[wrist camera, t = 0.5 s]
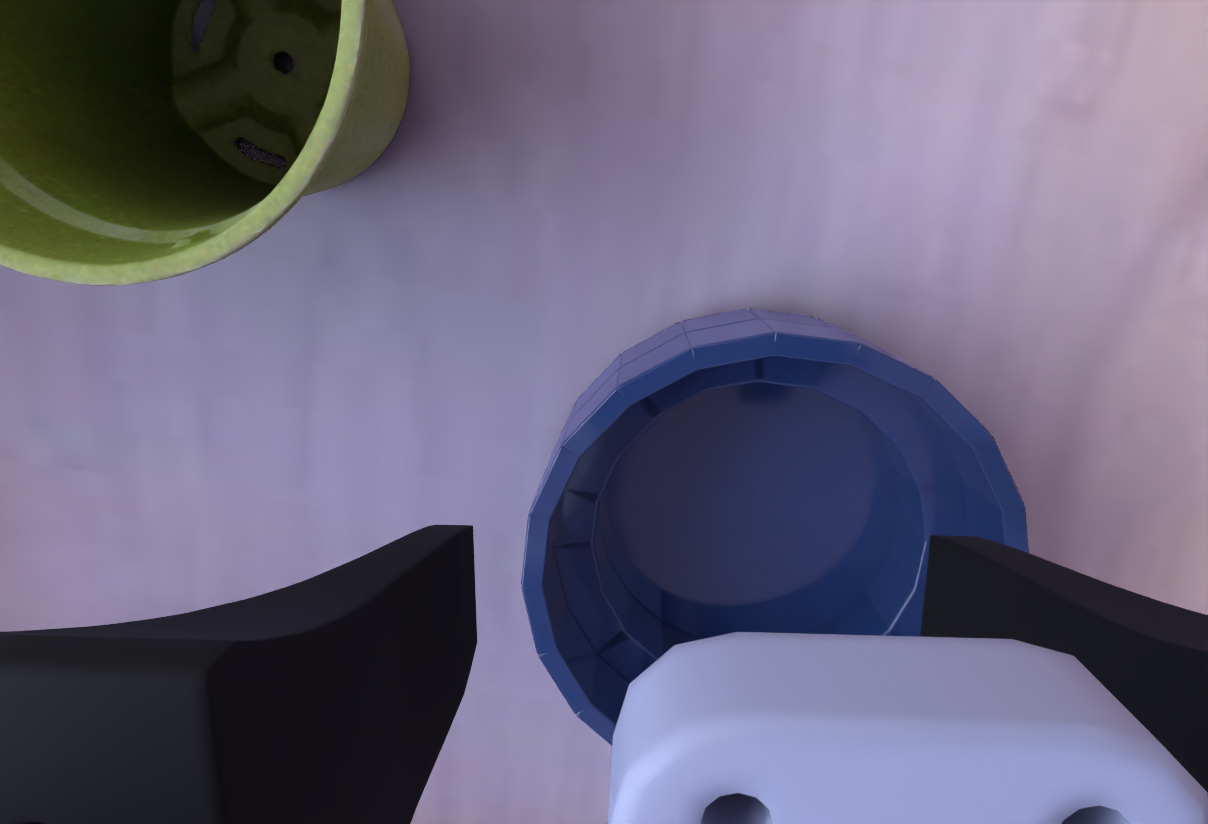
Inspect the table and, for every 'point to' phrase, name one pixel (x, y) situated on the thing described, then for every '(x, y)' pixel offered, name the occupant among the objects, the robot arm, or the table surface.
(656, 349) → the big bowl
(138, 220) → the plant pot
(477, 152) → the table surface
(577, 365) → the table surface
